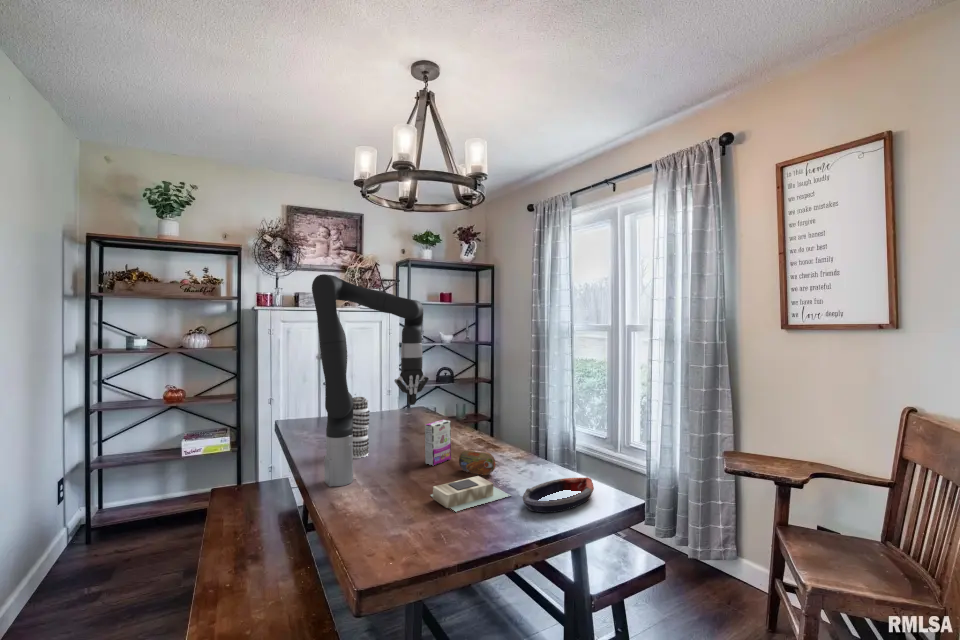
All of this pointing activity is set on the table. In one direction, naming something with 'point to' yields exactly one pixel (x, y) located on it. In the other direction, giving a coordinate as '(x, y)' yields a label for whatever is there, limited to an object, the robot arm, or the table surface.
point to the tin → (477, 462)
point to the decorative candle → (360, 427)
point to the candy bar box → (437, 442)
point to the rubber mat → (481, 500)
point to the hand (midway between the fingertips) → (411, 404)
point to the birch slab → (462, 491)
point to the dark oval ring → (555, 486)
